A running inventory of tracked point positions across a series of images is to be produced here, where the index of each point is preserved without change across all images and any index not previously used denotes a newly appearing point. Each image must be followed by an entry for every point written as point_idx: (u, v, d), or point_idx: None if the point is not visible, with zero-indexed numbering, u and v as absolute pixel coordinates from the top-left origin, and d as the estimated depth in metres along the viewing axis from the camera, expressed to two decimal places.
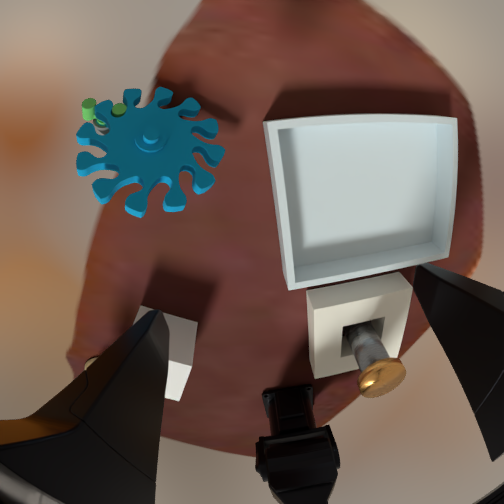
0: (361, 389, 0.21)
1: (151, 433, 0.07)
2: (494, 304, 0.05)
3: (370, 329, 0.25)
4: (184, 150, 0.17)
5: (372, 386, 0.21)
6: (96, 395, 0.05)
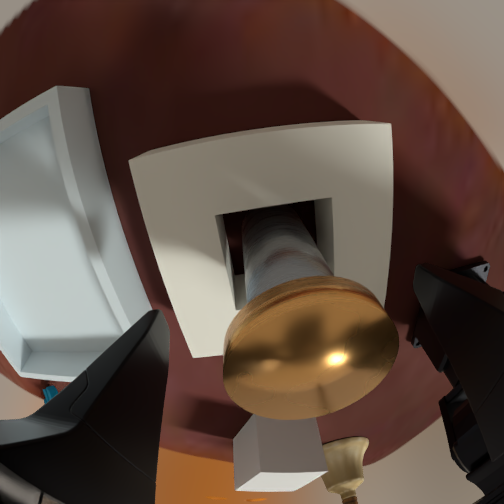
0: (316, 415, 0.07)
1: (151, 433, 0.07)
2: (494, 304, 0.05)
3: (245, 254, 0.11)
4: None
5: (316, 398, 0.07)
6: (96, 395, 0.05)
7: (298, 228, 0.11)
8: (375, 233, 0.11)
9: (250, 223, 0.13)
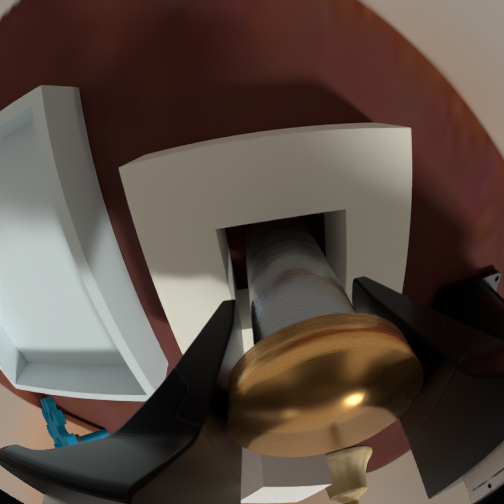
0: (328, 451, 0.06)
1: None
2: (424, 331, 0.05)
3: (249, 272, 0.10)
4: (59, 436, 0.16)
5: (330, 437, 0.06)
6: (205, 394, 0.05)
7: (308, 243, 0.10)
8: (391, 247, 0.10)
9: (254, 236, 0.11)
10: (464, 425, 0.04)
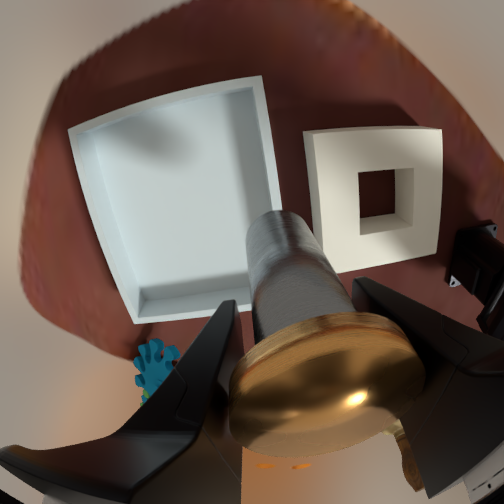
0: (329, 451, 0.06)
1: None
2: (424, 331, 0.05)
3: (250, 272, 0.10)
4: (167, 374, 0.24)
5: (331, 437, 0.06)
6: (206, 394, 0.05)
7: (309, 243, 0.10)
8: (434, 190, 0.18)
9: (255, 235, 0.11)
10: (464, 425, 0.04)
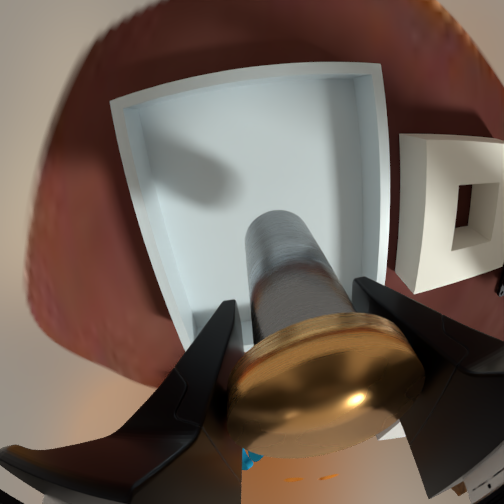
0: (328, 452, 0.06)
1: None
2: (423, 331, 0.05)
3: (249, 272, 0.10)
4: None
5: (330, 438, 0.06)
6: (206, 394, 0.05)
7: (309, 243, 0.10)
8: None
9: (254, 236, 0.11)
10: (464, 425, 0.04)
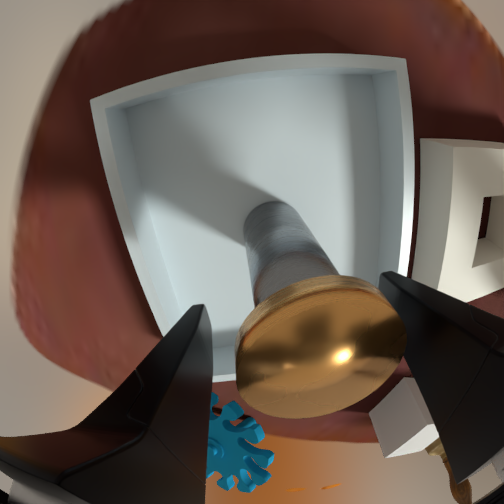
0: (326, 412, 0.07)
1: (202, 433, 0.06)
2: (456, 320, 0.05)
3: (249, 254, 0.11)
4: (224, 434, 0.18)
5: (327, 396, 0.07)
6: (157, 397, 0.05)
7: (302, 228, 0.11)
8: None
9: (253, 223, 0.13)
10: (496, 405, 0.04)
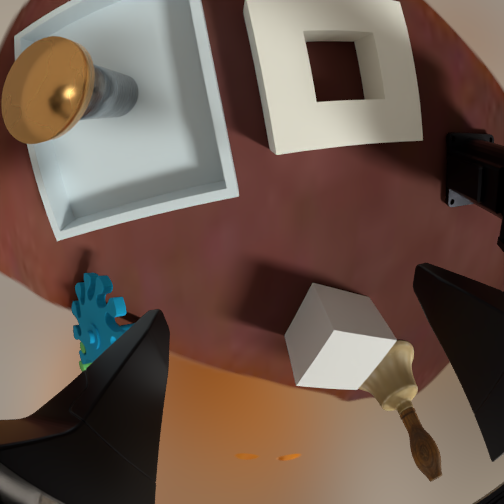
0: (47, 137, 0.08)
1: (151, 433, 0.07)
2: (494, 304, 0.05)
3: None
4: (98, 313, 0.19)
5: (41, 113, 0.08)
6: (96, 395, 0.05)
7: None
8: (403, 60, 0.13)
9: None
10: None
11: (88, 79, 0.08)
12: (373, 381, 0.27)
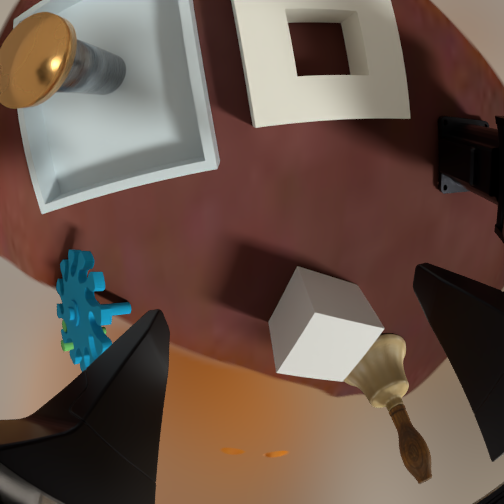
0: (29, 101, 0.08)
1: (151, 433, 0.07)
2: (494, 304, 0.05)
3: None
4: (78, 289, 0.18)
5: (26, 80, 0.07)
6: (96, 395, 0.05)
7: None
8: (389, 39, 0.12)
9: None
10: None
11: (70, 48, 0.07)
12: (362, 375, 0.26)
